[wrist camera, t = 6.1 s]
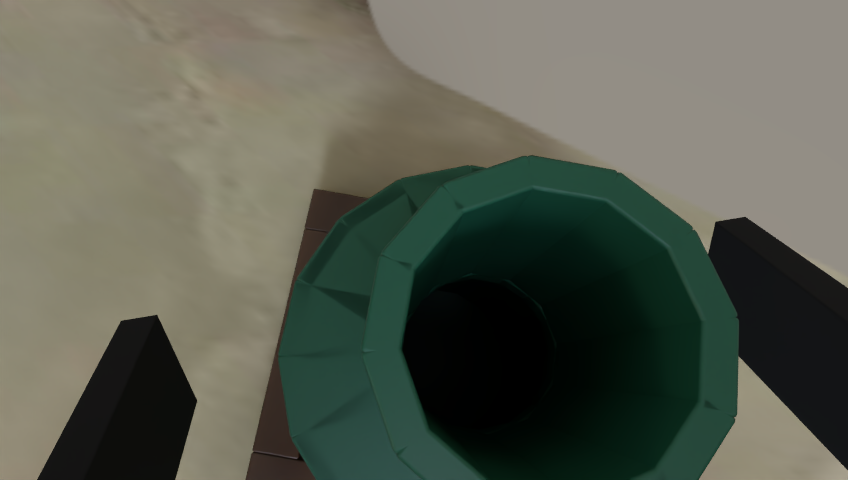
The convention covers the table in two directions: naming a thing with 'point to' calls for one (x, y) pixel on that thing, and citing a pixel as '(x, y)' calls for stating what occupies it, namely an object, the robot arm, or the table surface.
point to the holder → (273, 447)
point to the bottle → (510, 333)
